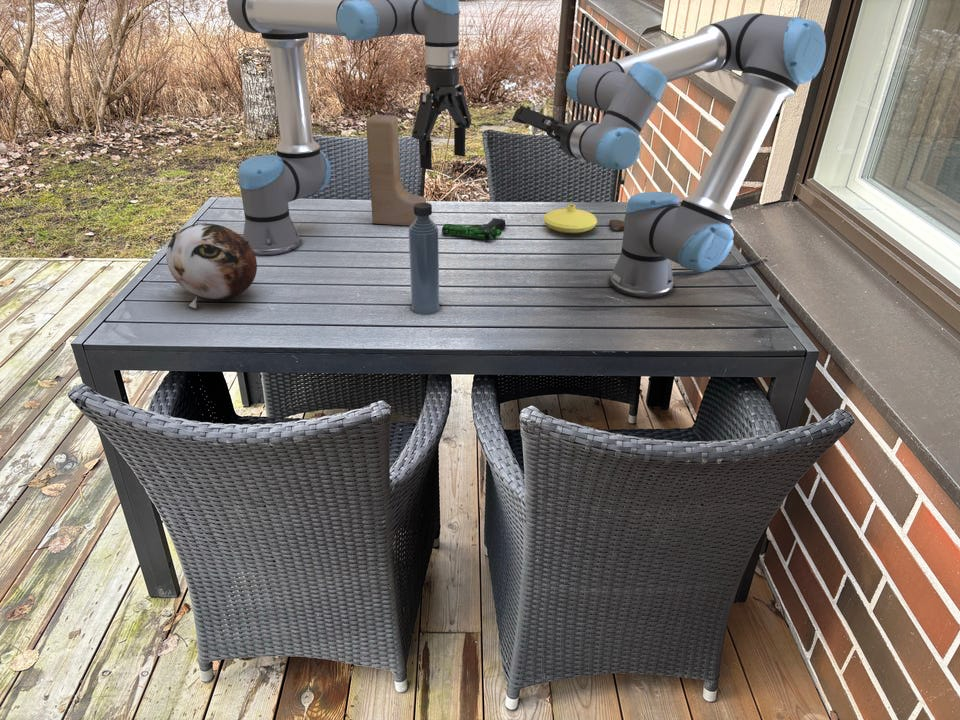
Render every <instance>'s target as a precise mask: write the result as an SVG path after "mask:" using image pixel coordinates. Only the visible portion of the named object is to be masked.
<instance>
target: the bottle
mask: <svg viewBox="0 0 960 720" xmlns="http://www.w3.org/2000/svg"><path fill="white" fill-rule="evenodd" d="M408 246H409V247H408V249H409V251H408V253H409V270H410V271H409V274H410V275H409V278H410V300H411V301H410V302H411V303H410V305H411V310H412V311H413V312H414V313H416V314H421V315H429V314H434V313H436V312H438V311H439V310H440V307H441V306H440V256H439V255H440V250H439V247H440V246H439V228H438V225H437V224H436V223H435V222H434V221H433V219H431V217H430V215H429V216H417V218H416V219H415V220H414V222H413V223H412V224H411V225H410V226H409V227H408Z"/></svg>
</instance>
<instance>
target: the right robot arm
mask: <svg viewBox="0 0 960 720" xmlns="http://www.w3.org/2000/svg"><path fill="white" fill-rule="evenodd" d="M826 50H827V43H826V35H825V31H824V29H823V27H822V26H821V25H820V23H818V22H817V21H815V20H813V19H807V18H802V17H801V16H783V15H776V14H766V13H760V12H755V13H746V14H741V15H737V16H734V17H733V16H732V17H730V18H726V19H723V20H719V21H716V22H713V23H710V24H706V25H704V26H702V27H700V28H699V29H698V30H697V31H696V33H695V34H692V35H689V36H686V37H683V38H680V39H676V40H674V41H671V42H667V43H664V44H661V45H658V46H655V47H651V48H649V49H645V50H642V51H639V52H637V53H633V54H630V55H627V56H623V57H620V58H617V59H615V60H611V61H607V62H604V63H601V64H598V65H593V64H592V63H587V64H586V63H582V64H577V65H576V66H573V68H572V69H571V70H570V71H569V73H568V75H567V77H566V80H565V88H566V94H567V96H568V98H569V99H570V100H572V102H574V103H577V104H579V105H581V106H584V107H588V108H593V109H596V110H600V111H604V112H605V113H604V116H603V117H602V119H601V121H600V122H596V121H590V120H585V119H573V120H571V121H569V122H568V123H566V122H561V121H559V120H557V119H555V118H554V117H553V116H550V115H546V114H544V113H541V112H538V111H536V110H534V109H532V108H531V107H530V106H529V105H528V106H526V107H525V106H524V105H519V107H518V108H516V110H515V112H514V114H513V116H512V118H511V121H513V122H514V123H518V124H523V125H529V126H532V127H534V128H536V129H538V130H540V131H541V132H545V134H546V135H547V136H548V137H549V138H552V139H554V140H555V141H556V142H558V143H559V146H558V149H560V150H561V151H563V153H564V154H566V155H567V156H568V157H570V158H574V159H577V160H579V162H580V163H581V164H585V162H588V163H592V164H595V165H598V166H600V167H603V168H605V169H609V170H616V171H617V170H618V171H621V170H626V169H628V168H630V167H632V166H633V165H634V164H635V163H636V162H637V160H638V159H639V157H640V155H641V147H642V142H641V139H640V135H641V133H642V130H643V129H644V127H645V125H646V124H647V122H648V120H649V118H650V117H651V115H652V113H653V112H654V110H655V108H656V107H657V105H658V103H659V102H660V101H661V97H662V96H663V93H664V91H665V89H666V88H667V86H668V83H671V82H674V81H676V80H679V79H683V78H685V77H689V76H691V75H694V74H697V73H700V72H705V73H709V74H710V73H716V72H718V71H724V70H725V71H737V72H741V74H740V79H741V81H742V85H743V87H742V89H741V91H740V93H739V95H738V97H737V100H736V101H735V103H734V107H733V108H732V110H731V112H730V114H729V117H728V118H727V121H726V123H725V125H724V127H723V129H722V131H721V134H720V136H719V137H718V140H717V142H716V144H715V147H714V149H713V150H712V152H711V155H710V157H709V159H708V161H707V163H706V166H705V168H704V170H703V172H702V174H701V176H700V178H699V181H698V183H697V184H696V187H695V189H694V191H693V193H691V195H688V196H686V197H684V198H683V199H682V200H680V197H679V195H678V194H675V193H673V192H666V191H643V192H638V193H635V194H633V195H631V196H630V197H629V199H628V200H627V207H626V211H624V212H625V213H624V214H625V215H624V219H625V221H624V222H625V223H624V230H623V232H622V243H621V251H620V255H619V257H618V259H617V262H616V264H615V265H614V268H613V270H612V272H611V274H610V282H609V283H610V286H611V288H613V289H614V290H615V291H617V292H619V293H620V294H624V295H626V296H630V297H633V298H634V297H635V298H641V299H656V298H660V297H664V296H667V295H669V294H671V292H672V291H673V288H674V283H675V282H674V277H680V276H693V275H698V274H701V273H705V272H708V271H711V270H719V269H721V270H734V269H740V268H741V269H742V268H746V267H748V266H752V265H755V264H758V263H759V262H760V261H757V258H755V259H753V260H749V261H746V262H747V263H748V264H745V265H741V266H738V263H737V264H721V263H723V262H724V260H725V259H726V258H727V257H728V255H729V254H730V252H731V250H732V248H733V245H734V242H735V241H734V237H735V235H734V233H735V232H734V231H733V229H732V228H731V224H732V222H733V219H734V217H733V215H732V212H731V208H732V206H733V204H734V202H735V200H736V197H738V196H737V195H738V194H739V191H740V189H741V188H742V185H743V184H744V181H745V179H746V177H747V175H748V173H749V171H750V169H751V167H752V166H753V163H754V161H755V159H756V157H757V155H758V152H759V150H760V148H761V147H762V144H763V142H764V140H765V138H766V137H767V134H768V132H769V130H770V128H771V126H772V124H773V122H774V120H775V118H776V115H778V114H777V113H778V112H779V110H780V107H781V106H782V103H783V101H785V100H787V99H788V98H791V97H793V96H794V95H795V94H796V92H797V90H798V88H799V85H804V84H807V83H810V82H811V81H812V80H813V79H815V78H816V77H817V75H818V74H819V72H820V71H821V69H822V66H823V65H824V60H825V57H826ZM680 201H681V203H680ZM671 262H673V263H676V264H678V265H679V266H680V267H681V268H684V269H688V270H686V271H685V270H683V271H673V269H672V264H671Z"/></svg>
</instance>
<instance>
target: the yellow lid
mask: <svg viewBox="0 0 960 720" xmlns="http://www.w3.org/2000/svg"><path fill="white" fill-rule="evenodd" d="M543 222H544V225H545V226H546V227H548V228H550V229H551V230H554V231H556V232H559V233H564V234H580V233H584V232H585V233H586V232H587V231H591V230H592V229H594V228H596V226H597V223H598V219H597V217H596V215H595V214H593V213H591V212H589V211H587V210H584V209H578V208H576V205H575V204H571V203H570V204H567V208H557V209H552V210H549V211H548V212H547V213H545V214H544V216H543Z"/></svg>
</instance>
